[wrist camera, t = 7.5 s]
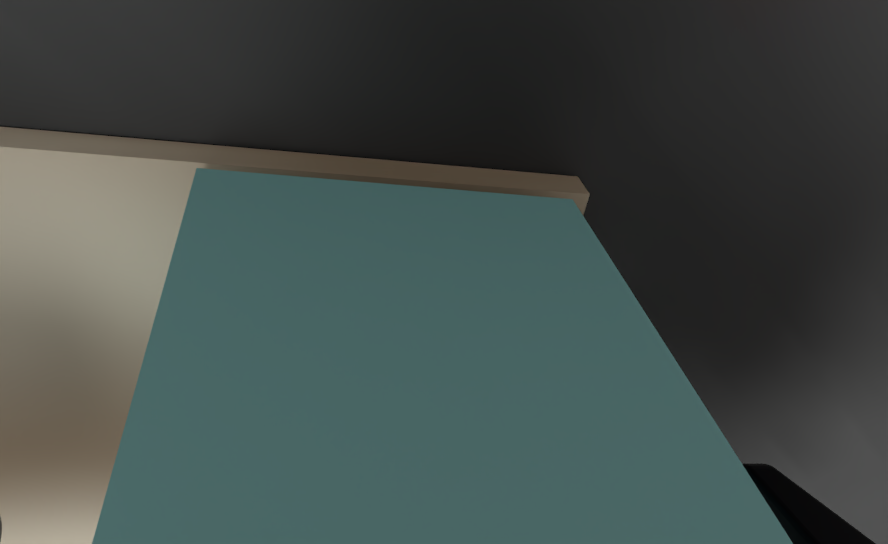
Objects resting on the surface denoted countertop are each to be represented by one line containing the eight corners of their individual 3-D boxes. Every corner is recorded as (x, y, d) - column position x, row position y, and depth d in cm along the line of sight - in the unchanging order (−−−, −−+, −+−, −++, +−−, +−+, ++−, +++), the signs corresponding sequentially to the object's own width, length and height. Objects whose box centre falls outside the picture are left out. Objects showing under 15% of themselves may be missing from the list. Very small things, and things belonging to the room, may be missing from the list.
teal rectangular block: (497, 448, 13) (630, 907, 8) (200, 449, 12) (117, 989, 7) (572, 199, 10) (858, 645, 5) (196, 168, 9) (47, 707, 4)
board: (442, 633, 18) (446, 657, 18) (-42, 664, 16) (-53, 692, 15) (577, 176, 11) (590, 194, 11) (-247, 105, 9) (-278, 124, 8)
